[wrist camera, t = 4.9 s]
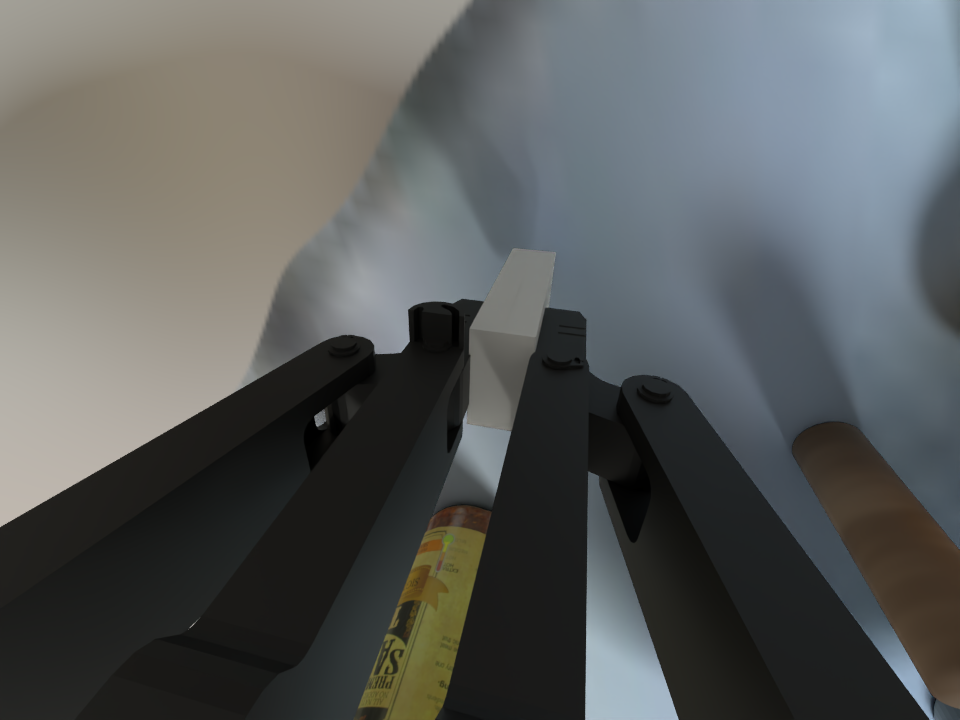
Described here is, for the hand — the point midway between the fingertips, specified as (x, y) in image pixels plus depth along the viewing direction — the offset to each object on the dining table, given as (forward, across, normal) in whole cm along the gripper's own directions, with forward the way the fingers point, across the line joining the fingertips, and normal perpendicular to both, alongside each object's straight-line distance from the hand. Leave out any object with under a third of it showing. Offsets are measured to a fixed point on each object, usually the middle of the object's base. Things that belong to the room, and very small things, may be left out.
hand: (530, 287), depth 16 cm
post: (+2, -13, +6) cm, 15 cm away
